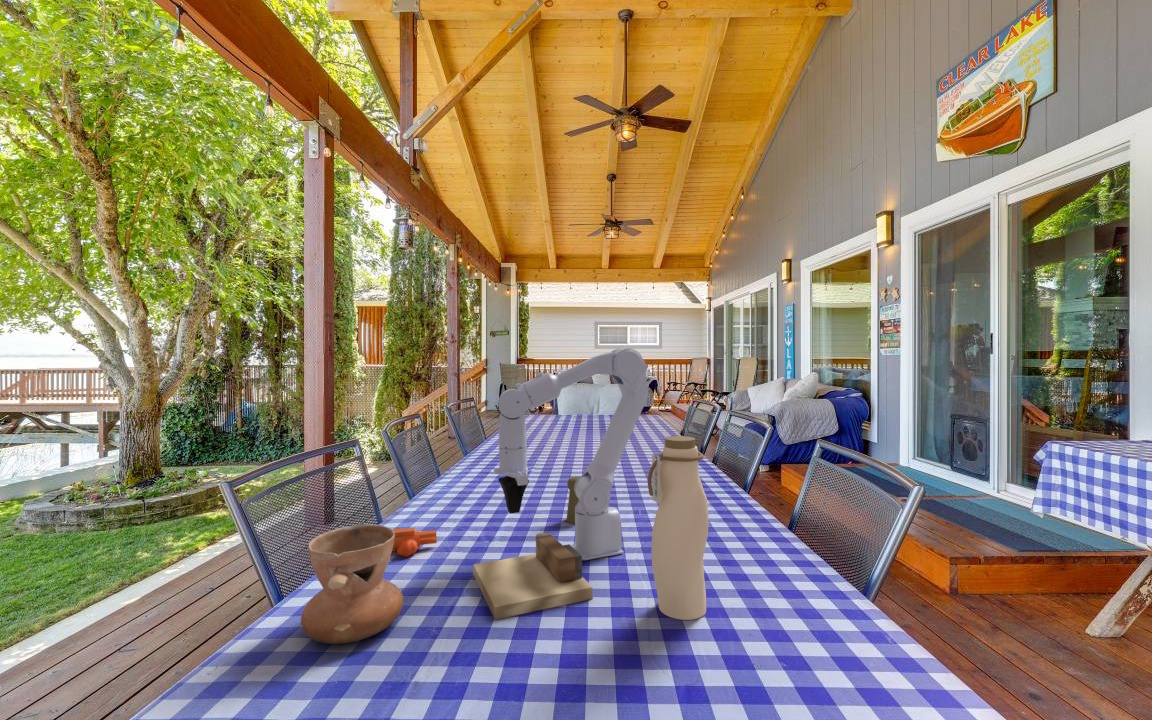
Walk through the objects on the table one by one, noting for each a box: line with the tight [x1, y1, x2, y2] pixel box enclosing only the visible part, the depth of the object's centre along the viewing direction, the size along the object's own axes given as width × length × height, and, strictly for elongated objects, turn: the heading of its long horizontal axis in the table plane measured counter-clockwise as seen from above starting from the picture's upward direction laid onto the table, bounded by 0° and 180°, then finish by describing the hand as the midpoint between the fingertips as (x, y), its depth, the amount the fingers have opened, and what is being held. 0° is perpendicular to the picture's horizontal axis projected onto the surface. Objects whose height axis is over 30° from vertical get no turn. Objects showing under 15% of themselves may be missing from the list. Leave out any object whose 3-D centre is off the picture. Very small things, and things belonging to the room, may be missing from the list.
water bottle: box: [647, 435, 709, 621], centre depth 82 cm, size 10×9×28 cm
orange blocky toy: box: [392, 527, 438, 558], centre depth 108 cm, size 5×8×12 cm
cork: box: [565, 476, 580, 525], centre depth 128 cm, size 6×6×11 cm
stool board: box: [472, 544, 594, 621], centre depth 91 cm, size 17×18×6 cm
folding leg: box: [535, 532, 575, 582], centre depth 95 cm, size 14×3×4 cm, turn 24°
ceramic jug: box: [300, 523, 404, 645], centre depth 79 cm, size 18×14×14 cm
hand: (513, 512), depth 105 cm, fingers closed
